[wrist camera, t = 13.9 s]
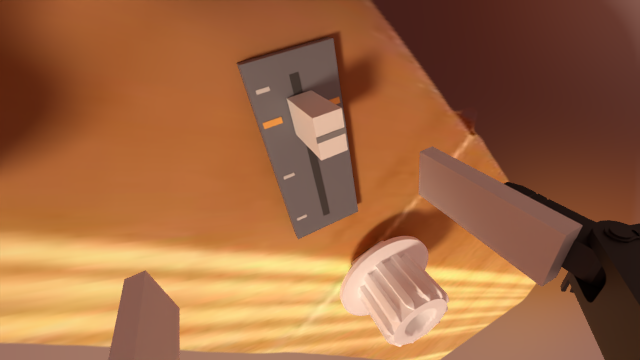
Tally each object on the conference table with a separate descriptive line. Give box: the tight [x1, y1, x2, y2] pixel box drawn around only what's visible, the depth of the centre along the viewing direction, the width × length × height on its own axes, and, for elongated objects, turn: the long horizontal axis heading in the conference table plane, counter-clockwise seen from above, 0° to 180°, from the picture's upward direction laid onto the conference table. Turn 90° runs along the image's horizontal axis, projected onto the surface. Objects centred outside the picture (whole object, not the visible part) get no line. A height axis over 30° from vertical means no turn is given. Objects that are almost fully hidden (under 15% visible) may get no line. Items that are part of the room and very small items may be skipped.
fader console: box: [237, 37, 358, 239], centre depth 49 cm, size 14×34×2 cm, turn 12°
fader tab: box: [287, 90, 348, 161], centre depth 39 cm, size 4×6×10 cm
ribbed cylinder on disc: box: [340, 236, 449, 347], centre depth 66 cm, size 25×25×19 cm
